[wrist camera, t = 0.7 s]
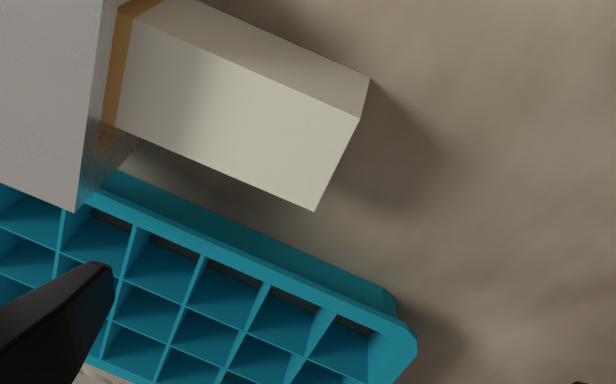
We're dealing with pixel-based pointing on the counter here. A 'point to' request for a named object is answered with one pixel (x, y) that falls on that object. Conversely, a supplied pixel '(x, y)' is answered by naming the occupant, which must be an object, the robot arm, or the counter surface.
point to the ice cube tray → (202, 294)
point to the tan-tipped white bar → (231, 96)
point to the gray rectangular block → (57, 99)
